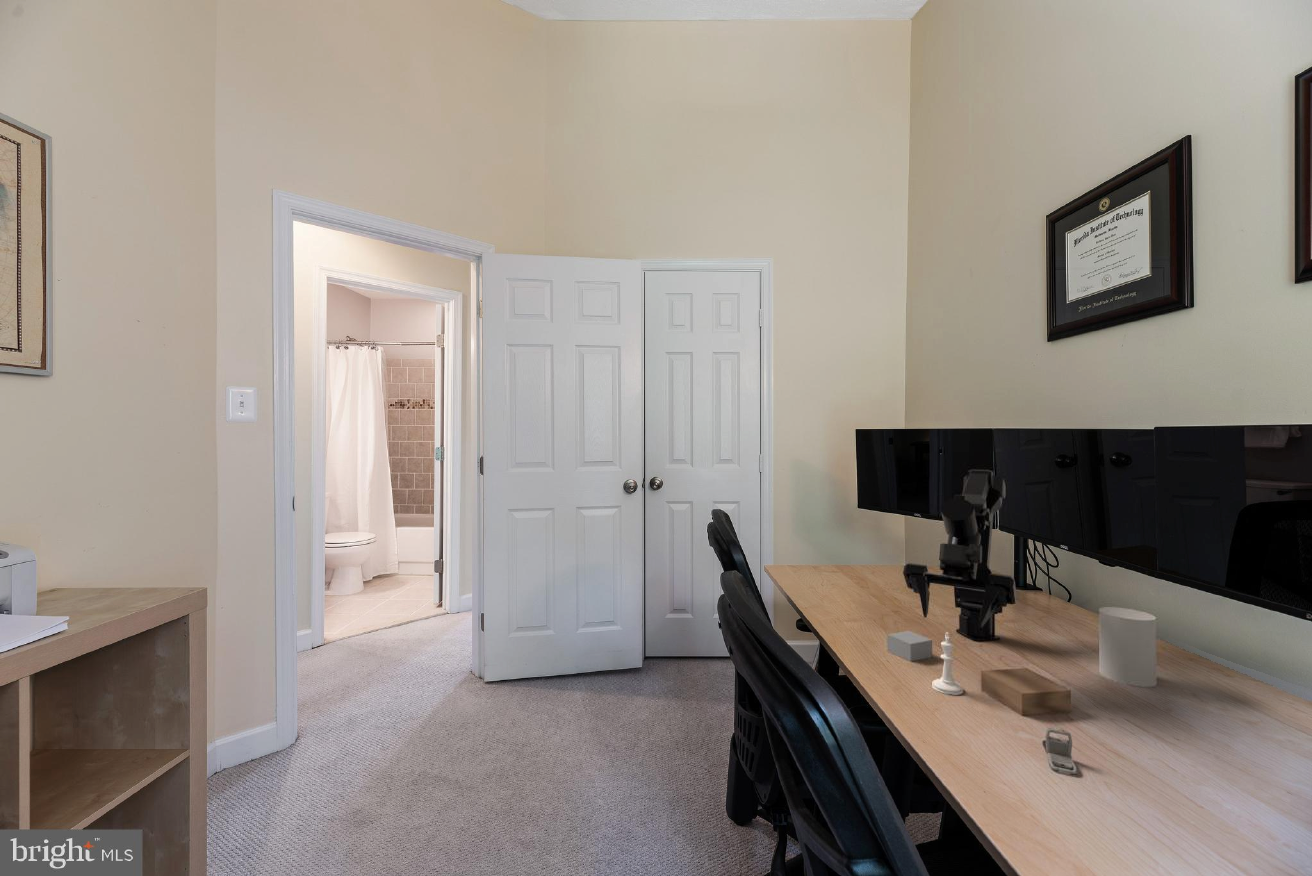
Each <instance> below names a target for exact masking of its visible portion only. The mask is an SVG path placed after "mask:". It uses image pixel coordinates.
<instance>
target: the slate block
mask: <svg viewBox="0 0 1312 876" xmlns="http://www.w3.org/2000/svg"><path fill="white" fill-rule="evenodd" d="M886 639H887V640H886V641H887V642H886V643H887V646H886V647H887V652H889V653H891V654H893V655H895V656H898V657H900V658H902V659H905V660H907V661H909V662H915V661H920V660H924V659H929V658H933V639H931V638H929V637H925V636H923V635H920V634H918V633H915V632H912V631H910V630H906V631H900V632H899V631H898V632H894V633H888V634H887V638H886Z"/></svg>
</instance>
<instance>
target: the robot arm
mask: <svg viewBox="0 0 1312 876" xmlns="http://www.w3.org/2000/svg"><path fill="white" fill-rule="evenodd" d="M1006 489H1007V488H1006V483H1005V478H1002V477H1000V476H998V475H996V474H994V471H992V470H990V469H970V470H967V474H966V475H965V476H964V477H963V491H962V493H961V494H954V497H953V498H951V499H948V500H947V501H945V502H944V503H943V504H942V505H941V507H940V513H941V517H942V521H943V526H944V529H945V532H946V535H947V536H948V538H947V543H945V542H944V543H940V544H939V557H938V560H939V561H940V562H939V569H940V571H942V572H941V573H937V572H931V571H929V569H928V566H927V564H922V563H921V564H919V563H913V562H912V563H911V562H907V564H905V565H904V567H903V571H902V575H903V577H904V580H905V581H904V582H905V583H906V588H908V589H910V590H912V591H913V593H915V594H918V595H919V598H920V604H921V610H922V615H923V618H927V617H928V614H929V608H930V607H929V605H930V594H931V593H930V585H931V584H934V585H936V584H937V585H943V586H948V587H949V586H951V587H953V593H954V607H955V608H957V609H958V608H959V609H960V614H959V615H958V620H959V621H958V628H957V629H955V632H956V633H958V634H960V635H962V636H965V637H966V638H968V639H971V640H972V641H975V642H976V641H995V640H996V641H997V640H1001V637H1000V636H999V635H996V615H999V614H1002V613H1004V612H1003V610H1004V608H1005V607H1007V605H1015V604H1016V600H1017V590H1016V589H1017V588H1016V581H1015V578H1013V576H1012V575H1008V574H1007V575H1006V574H1000V573H992V571H991V569H990V562H991V561H990V560H991V559H990V558H991V549H992V534H993V523H994V515H995V514H996V513H997V512H998V511H999V510H1000V509H1001V508H1002V507H1003V506H1002V505H1003V499H1005V498H1006V493H1007V492H1006V491H1007V490H1006ZM1003 607H1004V608H1003Z"/></svg>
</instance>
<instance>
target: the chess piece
mask: <svg viewBox="0 0 1312 876" xmlns="http://www.w3.org/2000/svg"><path fill="white" fill-rule="evenodd" d="M944 637H945V641H942V642H941V643H940V644H941V645H940V646H941V648H942V651H943V654H941V655H940V658H941V659H942V660H943V668H942V675H941V677H940V678H937V679H934V680H933V681H932V682H931V683H932V685H931V687H932V689H933V690H935V691H937V692H938V693H942V694H946V695H949V694H952V695H951V696H959V695H962V694H963V693H964V689H963V686H962V685H961V684H960V682H959V683H958V682H956V681H955V679H953V673H952V667H951V666H952V664H951V661H954V660H955V657H954V656H953V655H951V654H952V651H953V649H954V646H955V645H954V643H952V642H950V633H949V632H947V631H946V632H945V635H944Z"/></svg>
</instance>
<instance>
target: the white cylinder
mask: <svg viewBox="0 0 1312 876" xmlns="http://www.w3.org/2000/svg"><path fill="white" fill-rule="evenodd" d="M1098 623H1099V624H1098V625H1099V627H1098V628H1099V629H1098V634H1099V635H1098V641H1099V643H1098V645H1099V648H1098V649H1099V650H1098V652H1099V656H1098V657H1099V658H1098V659H1099V662H1098V663H1099V667H1098V668H1099V674H1100V675H1101V676H1103V677H1104V678H1106V679H1108V680H1111V681H1114V682H1116V683H1120V684H1124V685H1129V686H1133V687H1141V688H1143V687H1144V688H1151V687H1155V686H1157V617H1156V616H1154V615H1153V614H1151V613H1148V612H1145V611H1141V610H1137V609H1132V608H1126V607H1118V606H1117V607H1116V606H1115V607H1114V606H1105V607H1104V606H1103V607H1100V608H1099V609H1098Z"/></svg>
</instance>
